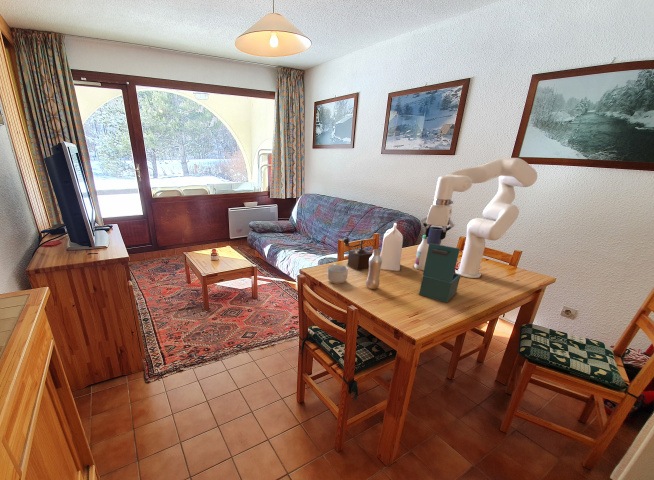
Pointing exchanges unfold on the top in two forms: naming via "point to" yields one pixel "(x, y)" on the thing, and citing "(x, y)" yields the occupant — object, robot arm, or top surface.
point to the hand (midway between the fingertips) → (434, 237)
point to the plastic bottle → (374, 269)
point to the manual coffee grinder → (358, 256)
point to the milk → (392, 249)
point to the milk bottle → (421, 254)
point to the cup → (434, 235)
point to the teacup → (337, 273)
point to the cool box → (439, 288)
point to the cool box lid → (441, 262)
